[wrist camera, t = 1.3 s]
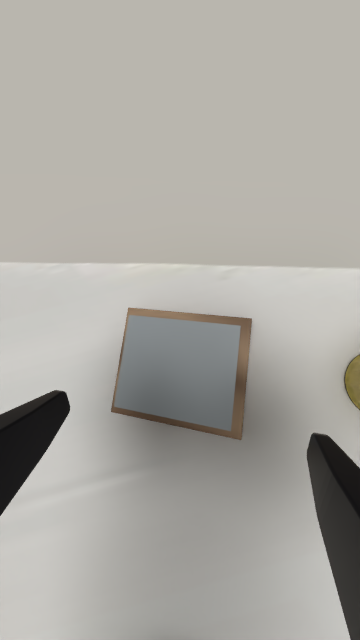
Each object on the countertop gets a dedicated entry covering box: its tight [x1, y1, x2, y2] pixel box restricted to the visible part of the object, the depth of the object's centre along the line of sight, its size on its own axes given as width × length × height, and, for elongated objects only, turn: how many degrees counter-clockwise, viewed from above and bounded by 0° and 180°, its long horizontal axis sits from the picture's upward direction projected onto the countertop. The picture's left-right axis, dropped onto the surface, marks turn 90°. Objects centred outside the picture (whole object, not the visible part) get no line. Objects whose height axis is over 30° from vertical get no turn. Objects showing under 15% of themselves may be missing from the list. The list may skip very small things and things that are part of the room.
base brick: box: [111, 308, 252, 440], centre depth 23 cm, size 11×13×2 cm
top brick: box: [114, 315, 241, 431], centre depth 21 cm, size 9×11×2 cm
